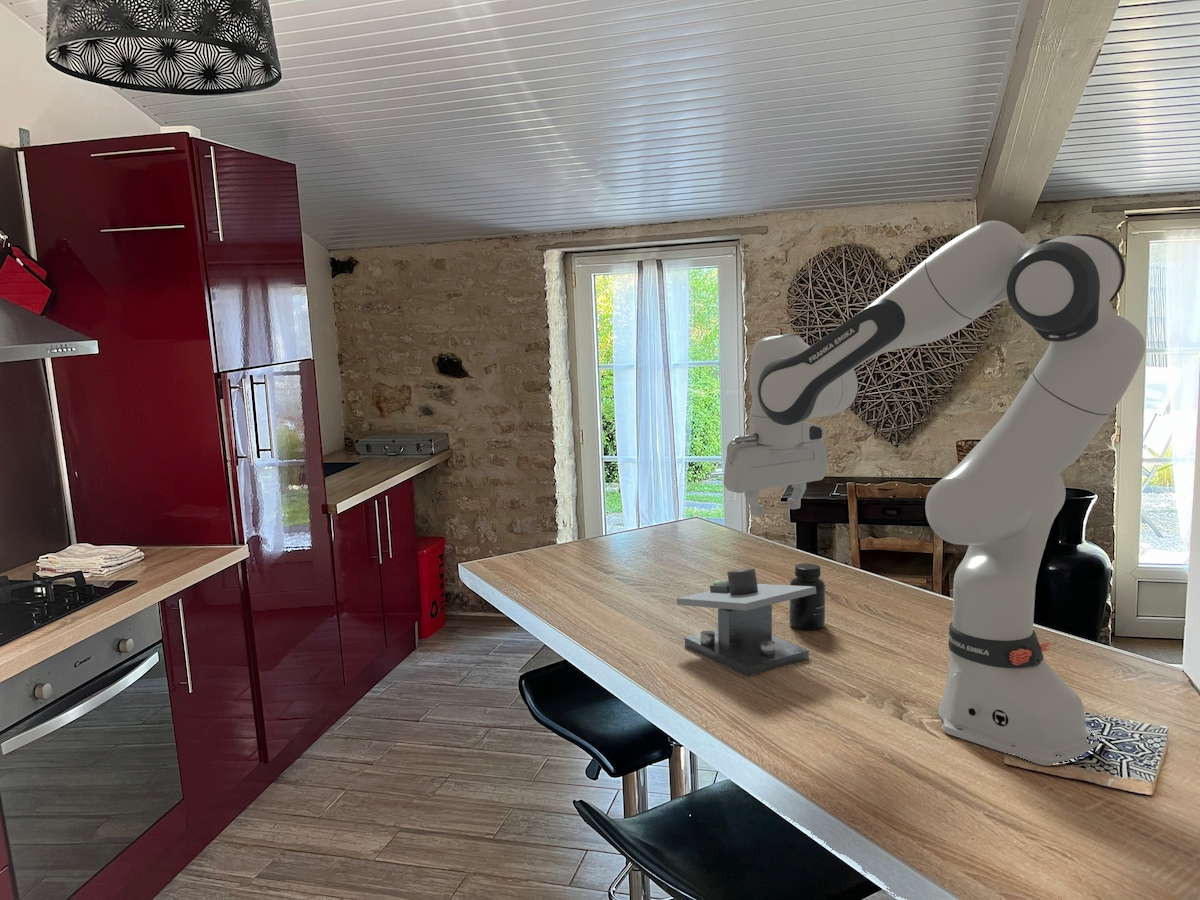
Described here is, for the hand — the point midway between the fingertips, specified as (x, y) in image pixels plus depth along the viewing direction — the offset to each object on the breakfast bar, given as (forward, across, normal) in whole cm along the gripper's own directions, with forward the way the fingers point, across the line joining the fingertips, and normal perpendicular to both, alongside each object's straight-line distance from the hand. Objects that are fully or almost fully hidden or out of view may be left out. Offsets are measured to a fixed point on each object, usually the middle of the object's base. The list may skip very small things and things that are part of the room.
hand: (775, 511), depth 159 cm
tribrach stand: (+28, 0, +8) cm, 29 cm away
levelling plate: (+18, 0, +8) cm, 19 cm away
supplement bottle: (+28, +19, +12) cm, 36 cm away
